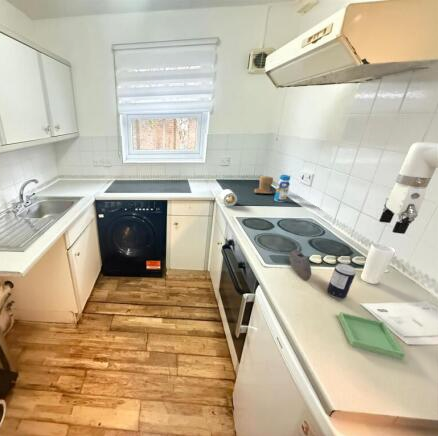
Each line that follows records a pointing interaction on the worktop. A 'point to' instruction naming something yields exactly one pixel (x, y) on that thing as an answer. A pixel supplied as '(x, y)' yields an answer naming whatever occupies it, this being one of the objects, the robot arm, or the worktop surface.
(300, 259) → the perforated stone tool
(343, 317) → the green tray
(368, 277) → the white cup
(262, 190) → the brown cylinder on base
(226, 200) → the toilet paper
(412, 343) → the worktop surface
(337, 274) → the beverage can
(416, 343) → the worktop surface
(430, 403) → the worktop surface
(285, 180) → the beverage bottle
